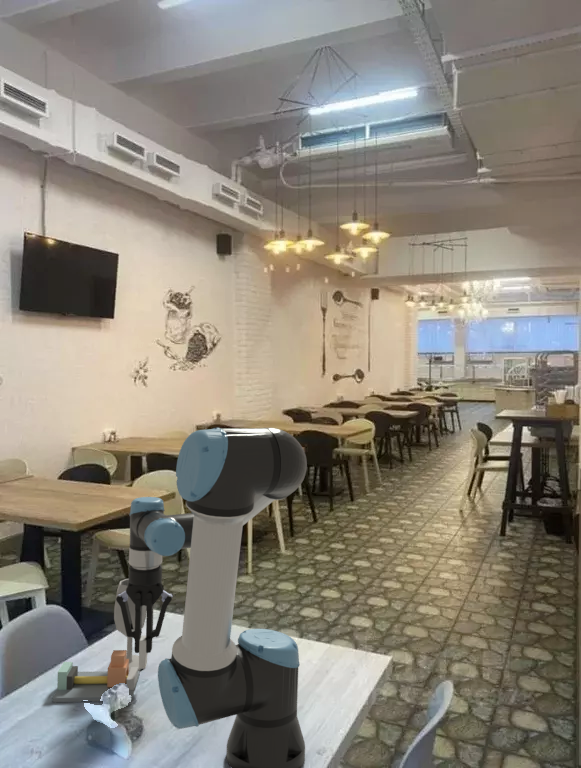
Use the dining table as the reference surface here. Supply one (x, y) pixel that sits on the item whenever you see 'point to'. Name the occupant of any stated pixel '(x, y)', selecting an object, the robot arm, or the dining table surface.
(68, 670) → the linear slide rail
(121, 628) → the wineglass
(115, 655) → the sleeve
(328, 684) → the dining table surface
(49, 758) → the dining table surface
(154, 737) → the dining table surface
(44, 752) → the dining table surface
